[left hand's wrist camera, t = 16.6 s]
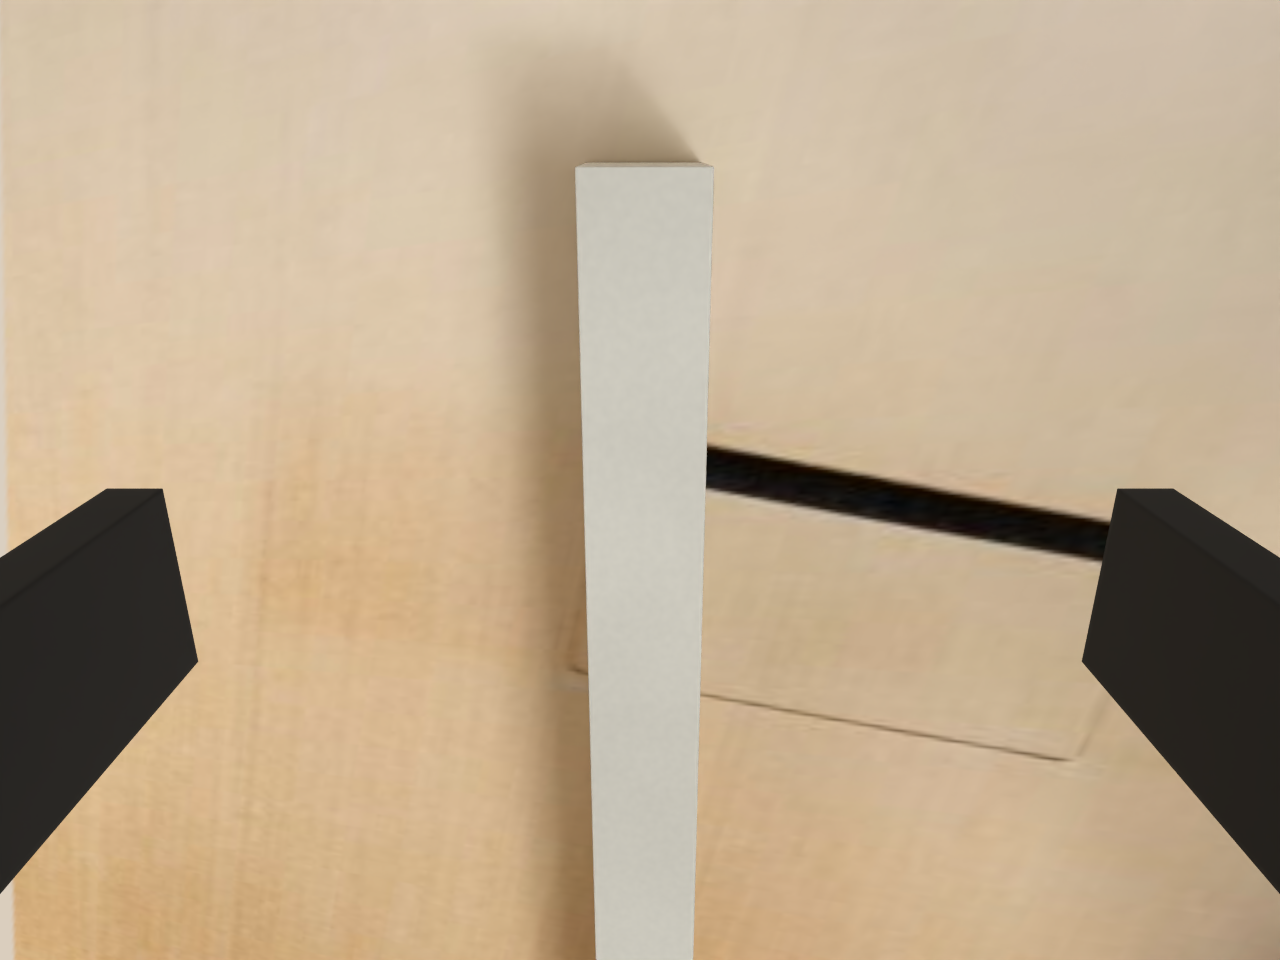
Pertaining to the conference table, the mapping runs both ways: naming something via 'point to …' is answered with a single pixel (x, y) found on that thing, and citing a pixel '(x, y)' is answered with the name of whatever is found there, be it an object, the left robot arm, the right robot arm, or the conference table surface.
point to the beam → (644, 537)
